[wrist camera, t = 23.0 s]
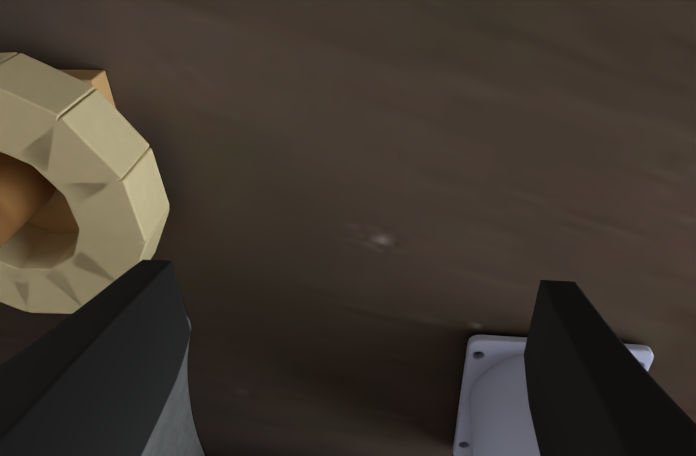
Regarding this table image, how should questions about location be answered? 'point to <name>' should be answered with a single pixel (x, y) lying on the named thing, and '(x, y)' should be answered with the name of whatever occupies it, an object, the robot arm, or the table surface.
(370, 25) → the table surface
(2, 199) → the peg stand
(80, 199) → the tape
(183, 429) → the hip flask
